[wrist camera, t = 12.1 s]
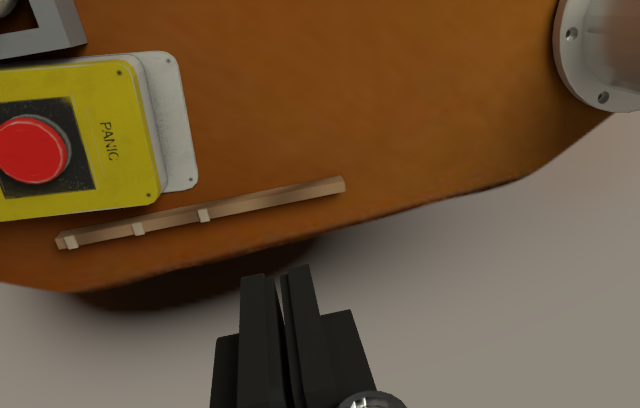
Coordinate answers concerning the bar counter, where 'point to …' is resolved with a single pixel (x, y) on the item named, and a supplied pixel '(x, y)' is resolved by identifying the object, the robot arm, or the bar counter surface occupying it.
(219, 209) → the rail
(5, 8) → the plunger
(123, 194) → the emergency button
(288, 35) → the bar counter surface
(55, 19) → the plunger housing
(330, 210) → the bar counter surface
